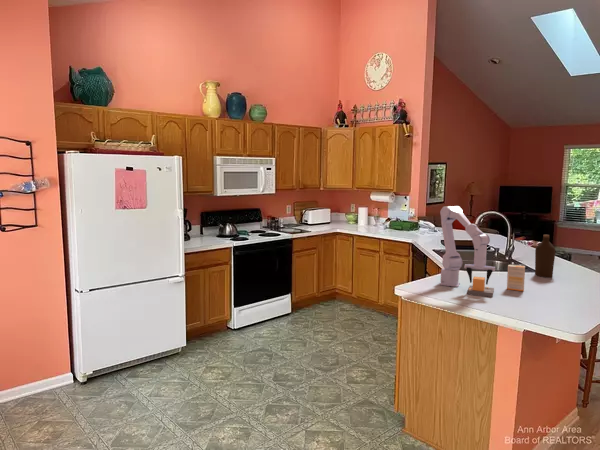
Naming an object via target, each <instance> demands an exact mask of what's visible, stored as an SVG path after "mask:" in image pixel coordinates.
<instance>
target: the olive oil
mask: <svg viewBox="0 0 600 450" xmlns="http://www.w3.org/2000/svg"><path fill="white" fill-rule="evenodd" d="M534 258H535V259H534V260H535V261H534V264H535V265H534V275H535V276H537V277H541V278H552V277H553V275H554V267H555V259H556V248H555V246H554V244H553V243H551V242H550V234H543V237H542V241H541V242H540V243H539V244H538V245H537V246H536V248H535V257H534Z"/></svg>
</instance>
